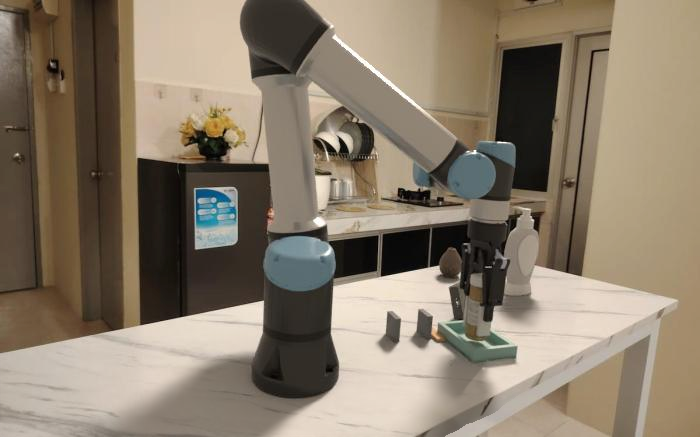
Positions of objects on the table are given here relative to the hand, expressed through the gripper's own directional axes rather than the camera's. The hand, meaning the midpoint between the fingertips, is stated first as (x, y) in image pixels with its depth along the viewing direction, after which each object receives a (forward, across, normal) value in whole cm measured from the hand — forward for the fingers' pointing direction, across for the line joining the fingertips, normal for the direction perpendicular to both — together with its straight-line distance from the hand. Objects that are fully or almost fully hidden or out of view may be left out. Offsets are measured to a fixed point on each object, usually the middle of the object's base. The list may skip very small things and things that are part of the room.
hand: (475, 329), depth 99 cm
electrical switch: (+4, +15, -7) cm, 17 cm away
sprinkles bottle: (+2, 0, 0) cm, 2 cm away
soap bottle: (+3, +29, -32) cm, 43 cm away
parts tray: (+3, 0, 0) cm, 3 cm away
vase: (+4, +46, -21) cm, 51 cm away
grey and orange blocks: (+3, +7, +11) cm, 13 cm away
